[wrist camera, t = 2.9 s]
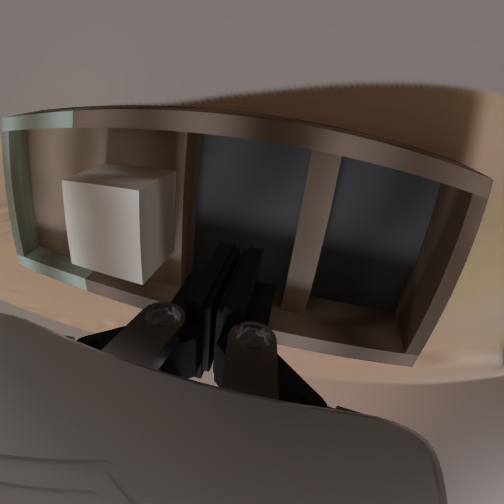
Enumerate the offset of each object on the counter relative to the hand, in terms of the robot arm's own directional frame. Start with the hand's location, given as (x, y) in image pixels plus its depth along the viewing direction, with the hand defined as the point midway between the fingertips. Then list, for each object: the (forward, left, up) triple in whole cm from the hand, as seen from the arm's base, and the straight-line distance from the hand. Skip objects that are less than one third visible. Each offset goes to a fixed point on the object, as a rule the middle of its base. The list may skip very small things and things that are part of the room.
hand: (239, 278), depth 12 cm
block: (+8, 0, -5) cm, 9 cm away
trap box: (+4, 0, -8) cm, 9 cm away
